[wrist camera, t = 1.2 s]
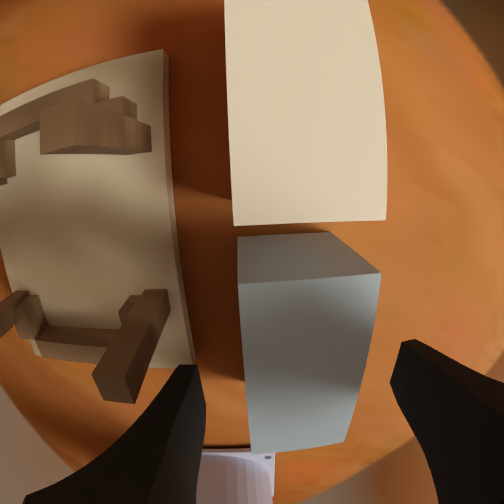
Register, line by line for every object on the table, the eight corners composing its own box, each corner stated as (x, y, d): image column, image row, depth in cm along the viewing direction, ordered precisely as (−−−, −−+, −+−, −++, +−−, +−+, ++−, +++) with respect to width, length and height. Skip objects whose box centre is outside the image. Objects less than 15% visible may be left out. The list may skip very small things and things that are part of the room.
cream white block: (329, 196, 12) (385, 220, 7) (235, 200, 12) (233, 226, 7) (318, 27, 9) (358, -31, 5) (227, 24, 9) (223, -43, 4)
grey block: (319, 373, 15) (343, 441, 10) (247, 380, 14) (251, 454, 10) (329, 231, 12) (381, 273, 7) (237, 236, 12) (237, 283, 7)
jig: (195, 356, 14) (177, 463, 7) (43, 346, 13) (-10, 413, 7) (169, 57, 9) (111, -25, 3) (1, 111, 9) (-85, 108, 3)
